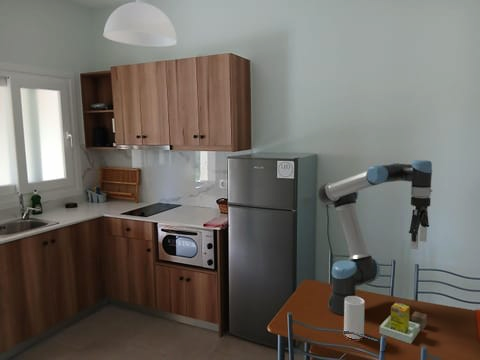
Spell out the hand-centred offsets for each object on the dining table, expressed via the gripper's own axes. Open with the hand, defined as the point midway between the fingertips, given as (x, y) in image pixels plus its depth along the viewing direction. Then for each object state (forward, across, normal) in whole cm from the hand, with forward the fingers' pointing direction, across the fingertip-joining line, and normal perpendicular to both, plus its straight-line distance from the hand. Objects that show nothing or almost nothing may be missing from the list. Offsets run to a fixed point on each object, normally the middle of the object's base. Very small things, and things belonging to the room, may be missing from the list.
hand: (418, 244), depth 155 cm
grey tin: (+39, +4, +8) cm, 40 cm away
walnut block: (+39, +4, 0) cm, 39 cm away
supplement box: (+38, -7, +4) cm, 39 cm away
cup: (+39, -22, +19) cm, 49 cm away
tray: (+39, -7, +4) cm, 40 cm away
